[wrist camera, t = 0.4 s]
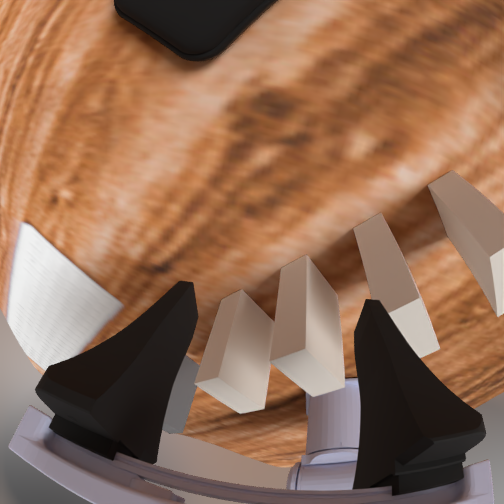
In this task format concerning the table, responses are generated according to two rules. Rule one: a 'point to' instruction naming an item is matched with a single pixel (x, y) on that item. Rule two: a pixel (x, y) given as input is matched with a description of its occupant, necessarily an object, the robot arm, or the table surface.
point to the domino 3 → (308, 329)
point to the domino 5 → (473, 232)
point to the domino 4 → (394, 284)
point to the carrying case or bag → (193, 23)
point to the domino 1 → (181, 397)
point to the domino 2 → (238, 355)
